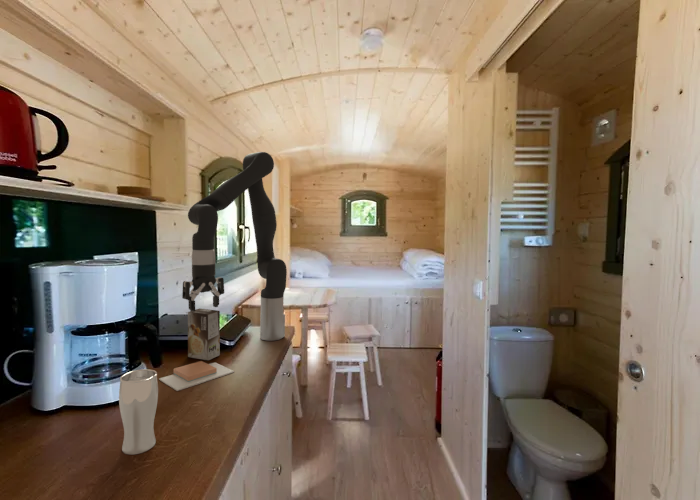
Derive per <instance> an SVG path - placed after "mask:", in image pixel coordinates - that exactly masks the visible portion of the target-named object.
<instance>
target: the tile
mask: <svg viewBox="0 0 700 500" xmlns="http://www.w3.org/2000/svg"><path fill="white" fill-rule="evenodd" d="M209 364H210V363H207V362H204V361H202V360H200V361H199V360H198V361H196V362H192V363H188V364H185V365H181V366H179V367H175V368H173V374H175V375H177V376H179V377H181V378H182V379H184V380H186V381H188V382H190V381H193V380H196V379H199V378H202V377H205V376H208V375H212V374H215V373H217V368H215V367H213V366H211V365H209Z"/></svg>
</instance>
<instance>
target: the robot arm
mask: <svg viewBox="0 0 700 500" xmlns="http://www.w3.org/2000/svg"><path fill="white" fill-rule="evenodd" d="M274 167H275V162H274V158H273V157H272V155H271V154H269V152H266V151H257V152H252V153H248V154H246V155H245V156H244V158H243V160H242V171H240V172H239V173H237V174H236V175H234V176H233V177H231V178H229V179H227V180H226V181H224V182H223V183H221V184H220V185H219V186H218V187H217V188H215V190H213V191H212V192H211V193H210V194H209V195H207V196H206V197H203V198H202V199H201V200H199V201H197V202H195V203H194V204H193V205H192V206H191V207H190V208H189V210H188V213H187V218H188V220H189V222H190V223H191V224H193V225H196V226H198V227H197V231H196V232H195V233H193V235H192V238H191V239H192V241H191V242H192V245H191V246H192V247H191V248H192V250H191V252H192V253H191V276H192V277H191V278H192V280H191V281H186V280H185V281H183V282H182V293H181V297H182V299H184V300H186V301H188V310H189V312H190V311H192V312H193V311H195V310H196V300H195V299H196V298H197V297H198V296H199V295H200V293H201V294H202V293H205V292H210V293H211V295H213V296H212V307H213V308H218V307H219V305H220V296H221V295H224V294H225V281H224V277H221V276H217V277H216V253H215V235H216V231H217V227H218V224H219V223H218V222H219V214H218V212H220V211H223V210H225V209H226V208H228V206H231V204H232V203H233V202H234V201H235V200H237V199H238V198H239V196H241V195H242V194H243V193H245V191H248V197H249V202H250V208H251V216H252V217H251V219H252V226H253V231H254V239H255V244H256V259H257V260H256V262H257V263H256V265H257V272H258V274H259V276H260V277H261V278H263V279H265V287H264V288H262V289H261V290H260V317H259V318H260V321H259V322H260V323H259V325H260V327H259V333H260V334H259V338H260V340H263V341H270V342H271V341H272V342H273V341H280V340H281V339H283V338H285V335H286V314H285V313H284V300H285V299H284V295H285V291H286V288H287V287H286V286H287V276H288V275H287V274H288V272H287V271H288V270H287V269H288V268H287V264H286V262H285V261H284V260H282V259H281V258H276V257H275V254H274V253H275V252H274V239H275V235H276V231H277V217H276V216H277V215H276V211H275V210H276V209H275V207H274V205H273V202H272V201H271V199H270V198H269V196H268V194H267V193H266V191H265V188H264V182H263V179H264V178H265V177H267V176H268V175H269V174H271V173H272V172H273V170H274ZM215 284H216V285H217V288H216V286H215ZM191 287H192V289H191ZM190 290H191V291H190Z"/></svg>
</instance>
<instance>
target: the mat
mask: <svg viewBox="0 0 700 500" xmlns="http://www.w3.org/2000/svg"><path fill="white" fill-rule="evenodd" d="M208 364H209V365H211V366H213V367H215V368H217V373H215V374H212V375H208V376H205V377H202V378H199V379H196V380H193V381H190V382H188V381H186V380H184V379H182V378H181V377H179V376H177V375H175V374H174V373H173V374H171V375H170V374H169V375H167V376H163V377H160V378H158V380H159V381H160V382H162V383H164V385H166V386H168V387H170V388H171V389H172V390H174V391H176V392H179V391H182V390H185V389H188V388H191V387H195V386H197V385H200V384H203V383H207V382H209V381H212V380H214V379H215V380H216V379H218V378H221V377H224V376H227V375H231V374H233V373H235V370H233V369H230V368H229V367H226V366H224V365H222V364H219V363H217V362H210V363H208Z"/></svg>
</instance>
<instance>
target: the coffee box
mask: <svg viewBox="0 0 700 500" xmlns="http://www.w3.org/2000/svg"><path fill="white" fill-rule="evenodd" d="M220 313H221V312H220V310H216V309H210V308H209V309H208V308H195V311H193V312H192V311H190V310H189V311H187V357H188V358H192V359H198V360H204V361H211V360H212V359H214V358H216V357H219V356H220V355H221V354H220V353H221V351H220V347H221V346H220V345H221V343H220V341H221V340H220V339H221V337H220V335H221V333H220V332H221V330H220V329H221V328H220V326H221V325H220V324H221V323H220V321H221V319H220V318H221V317H220V316H221V315H220Z"/></svg>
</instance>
